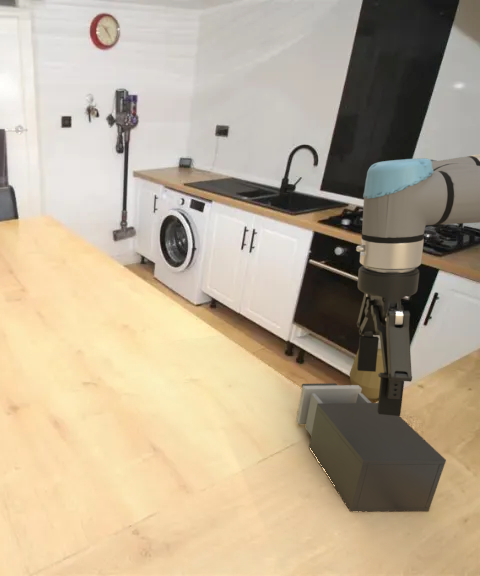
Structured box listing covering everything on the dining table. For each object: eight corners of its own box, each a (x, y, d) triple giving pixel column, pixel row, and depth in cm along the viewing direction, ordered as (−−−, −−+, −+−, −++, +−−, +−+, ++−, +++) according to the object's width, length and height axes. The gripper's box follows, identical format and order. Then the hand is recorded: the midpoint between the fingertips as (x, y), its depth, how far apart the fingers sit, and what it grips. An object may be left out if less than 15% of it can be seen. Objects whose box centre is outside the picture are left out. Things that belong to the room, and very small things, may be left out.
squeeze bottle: (357, 379, 103) (371, 313, 97) (393, 394, 96) (411, 325, 90) (339, 389, 99) (353, 322, 93) (375, 406, 92) (393, 335, 86)
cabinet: (308, 448, 81) (317, 403, 77) (373, 447, 80) (385, 402, 77) (350, 511, 67) (363, 460, 63) (428, 511, 67) (446, 460, 63)
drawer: (287, 408, 91) (293, 374, 88) (339, 407, 91) (346, 373, 88) (329, 469, 74) (337, 429, 71) (392, 468, 74) (403, 428, 71)
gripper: (343, 249, 74) (336, 354, 80) (382, 292, 52) (369, 433, 58) (392, 247, 72) (381, 357, 78) (456, 292, 49) (434, 440, 55)
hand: (376, 390), depth 68 cm, fingers open, 13 cm apart
